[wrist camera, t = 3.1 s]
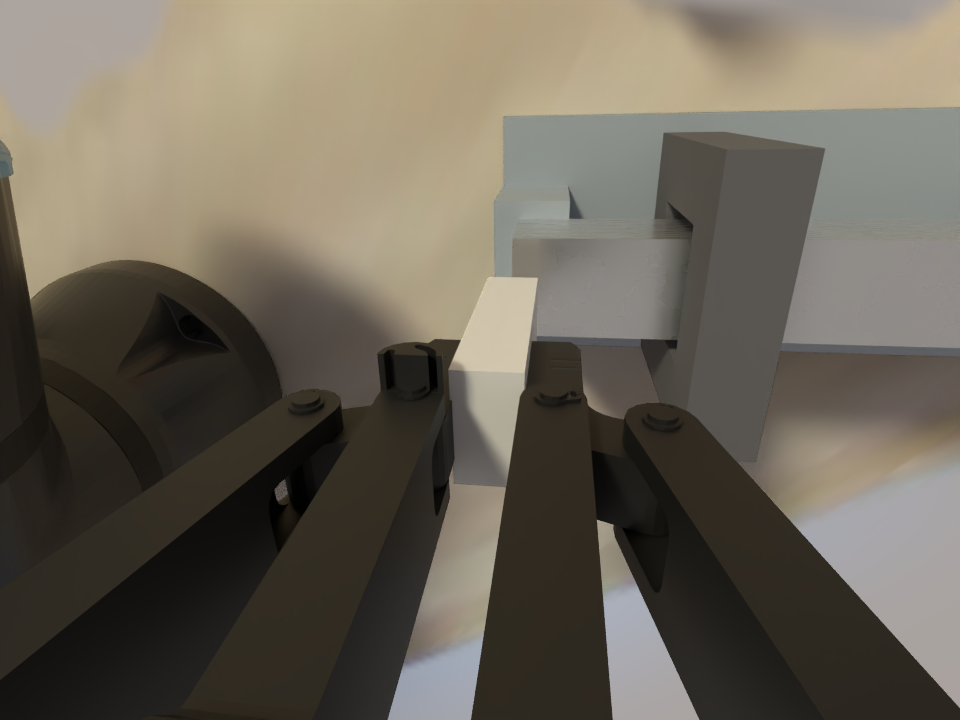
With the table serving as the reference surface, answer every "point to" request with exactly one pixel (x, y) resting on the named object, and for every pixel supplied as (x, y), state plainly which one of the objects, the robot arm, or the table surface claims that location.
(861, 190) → the stand
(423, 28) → the table surface
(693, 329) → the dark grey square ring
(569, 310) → the brushed grey beam
